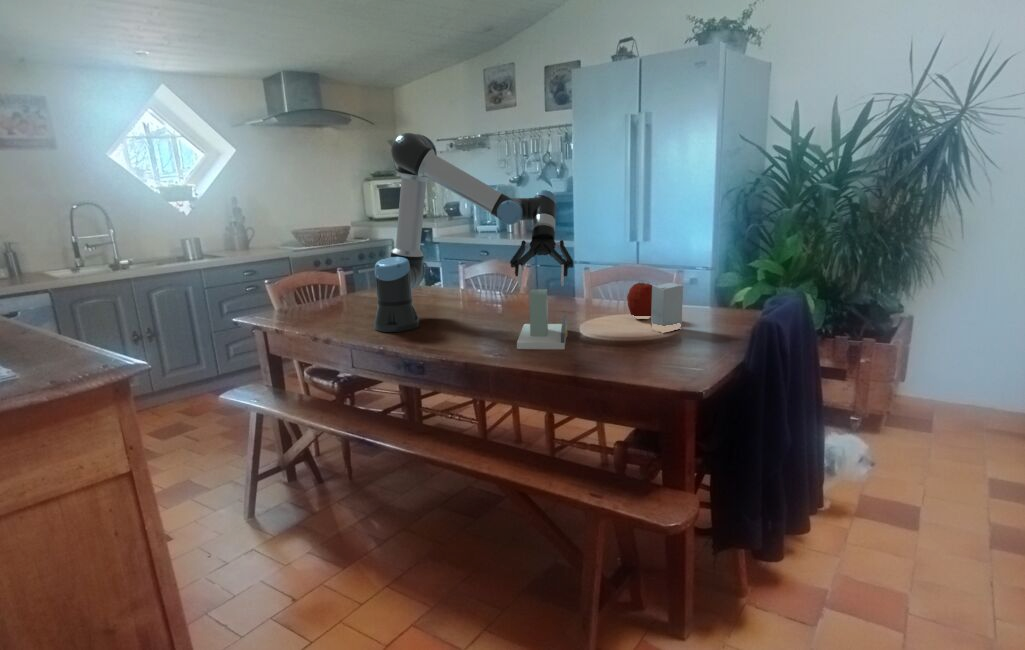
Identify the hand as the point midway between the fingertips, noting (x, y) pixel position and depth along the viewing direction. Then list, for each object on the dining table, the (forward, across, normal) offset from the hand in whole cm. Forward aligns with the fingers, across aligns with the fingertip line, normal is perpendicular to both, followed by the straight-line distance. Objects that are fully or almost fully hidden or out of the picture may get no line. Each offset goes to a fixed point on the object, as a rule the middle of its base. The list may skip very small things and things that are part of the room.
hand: (540, 284), depth 186 cm
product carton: (+14, 0, -6) cm, 15 cm away
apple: (-2, -34, -25) cm, 42 cm away
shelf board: (+16, -1, -8) cm, 17 cm away
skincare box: (+8, -40, -15) cm, 43 cm away
